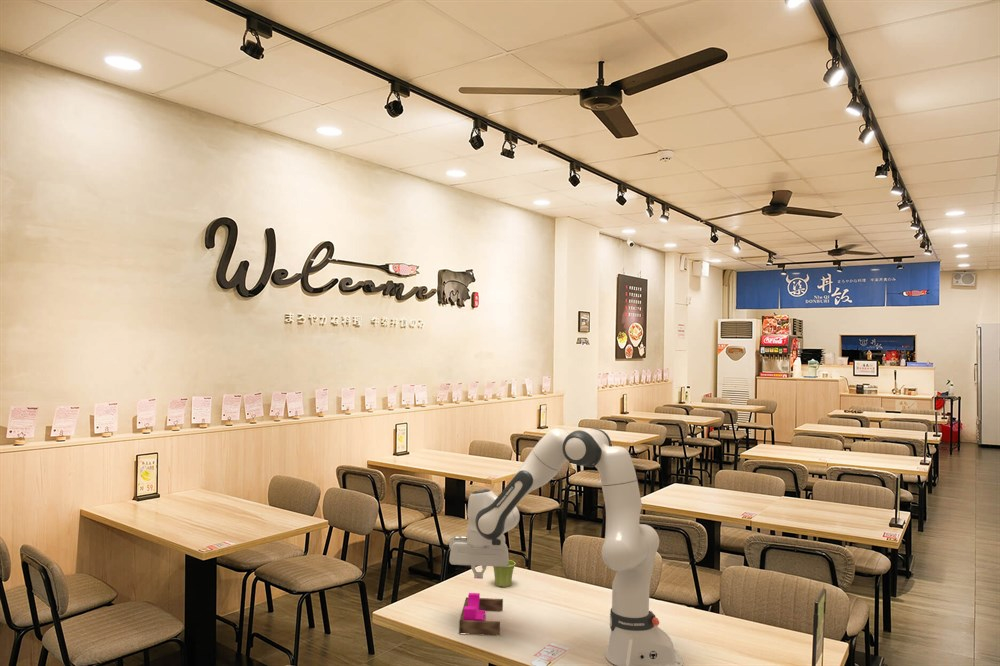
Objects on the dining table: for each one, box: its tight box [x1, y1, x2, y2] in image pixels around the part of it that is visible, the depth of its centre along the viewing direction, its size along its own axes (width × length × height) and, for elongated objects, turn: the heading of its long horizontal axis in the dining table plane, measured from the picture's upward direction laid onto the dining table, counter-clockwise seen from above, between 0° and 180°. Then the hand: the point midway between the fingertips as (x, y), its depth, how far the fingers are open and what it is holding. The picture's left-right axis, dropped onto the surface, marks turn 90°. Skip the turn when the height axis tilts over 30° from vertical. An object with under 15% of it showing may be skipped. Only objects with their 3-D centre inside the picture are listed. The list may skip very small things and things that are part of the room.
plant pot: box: [492, 559, 517, 588], centre depth 264 cm, size 9×9×9 cm
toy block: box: [463, 592, 486, 621], centre depth 226 cm, size 15×6×8 cm, turn 176°
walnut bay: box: [458, 596, 504, 636], centre depth 227 cm, size 13×21×4 cm, turn 177°
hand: (478, 578), depth 227 cm, fingers closed
